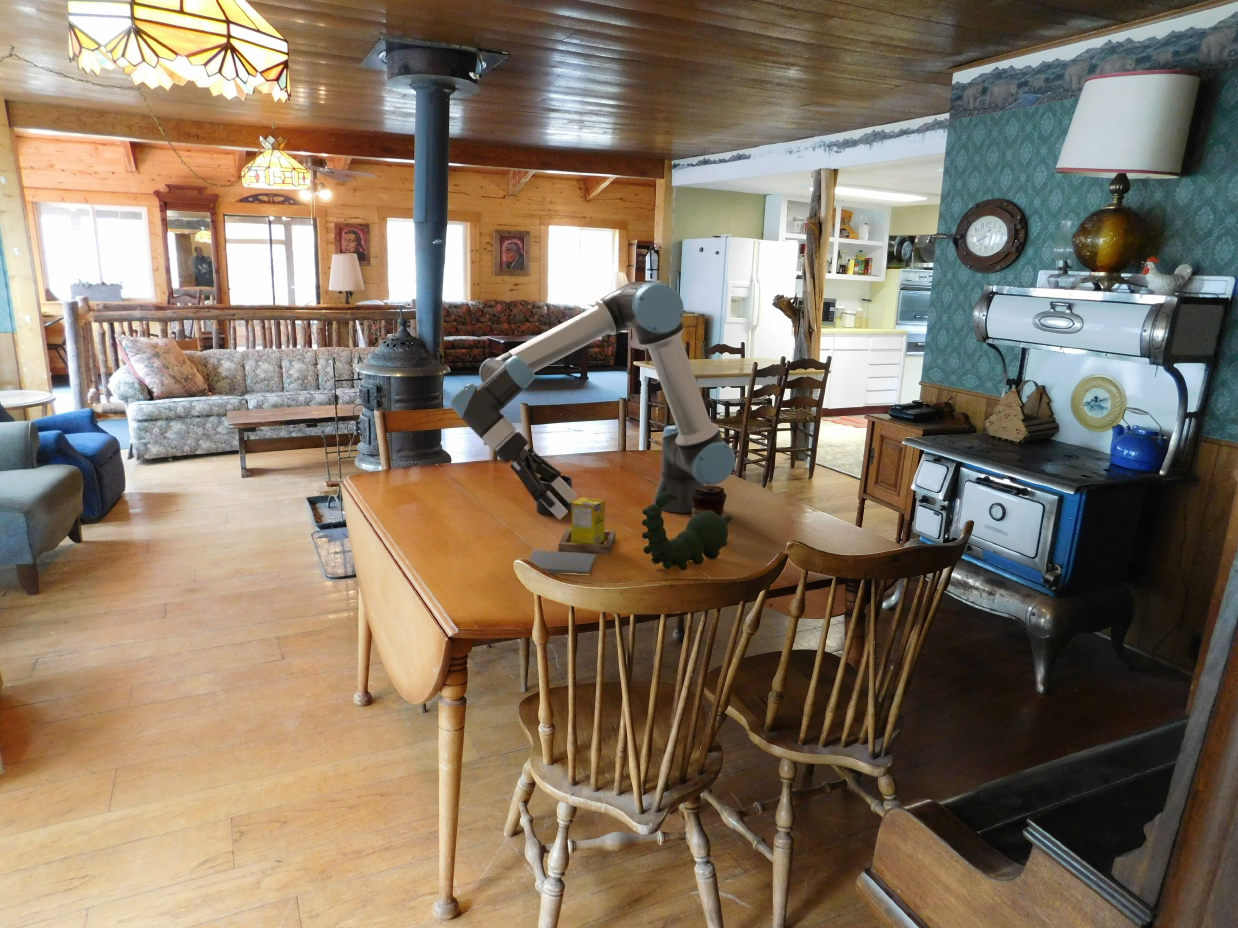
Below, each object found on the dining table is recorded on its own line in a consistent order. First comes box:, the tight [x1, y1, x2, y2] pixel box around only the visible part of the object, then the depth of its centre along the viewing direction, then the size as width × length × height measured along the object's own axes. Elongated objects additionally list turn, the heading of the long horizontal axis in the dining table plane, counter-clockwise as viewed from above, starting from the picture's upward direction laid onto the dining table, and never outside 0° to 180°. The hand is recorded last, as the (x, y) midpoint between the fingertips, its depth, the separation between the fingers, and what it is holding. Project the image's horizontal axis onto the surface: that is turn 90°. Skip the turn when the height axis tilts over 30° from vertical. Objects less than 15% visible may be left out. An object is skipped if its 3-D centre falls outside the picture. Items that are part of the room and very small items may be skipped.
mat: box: [528, 549, 597, 575], centre depth 174 cm, size 14×11×1 cm
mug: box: [536, 474, 573, 517], centre depth 212 cm, size 9×12×9 cm
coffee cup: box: [691, 484, 727, 518], centre depth 193 cm, size 9×8×13 cm
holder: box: [558, 527, 616, 556], centre depth 187 cm, size 12×12×2 cm
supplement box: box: [570, 496, 606, 545], centre depth 186 cm, size 6×6×11 cm
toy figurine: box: [641, 492, 733, 571], centre depth 176 cm, size 9×19×25 cm
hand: (568, 507), depth 185 cm, fingers open, 13 cm apart
